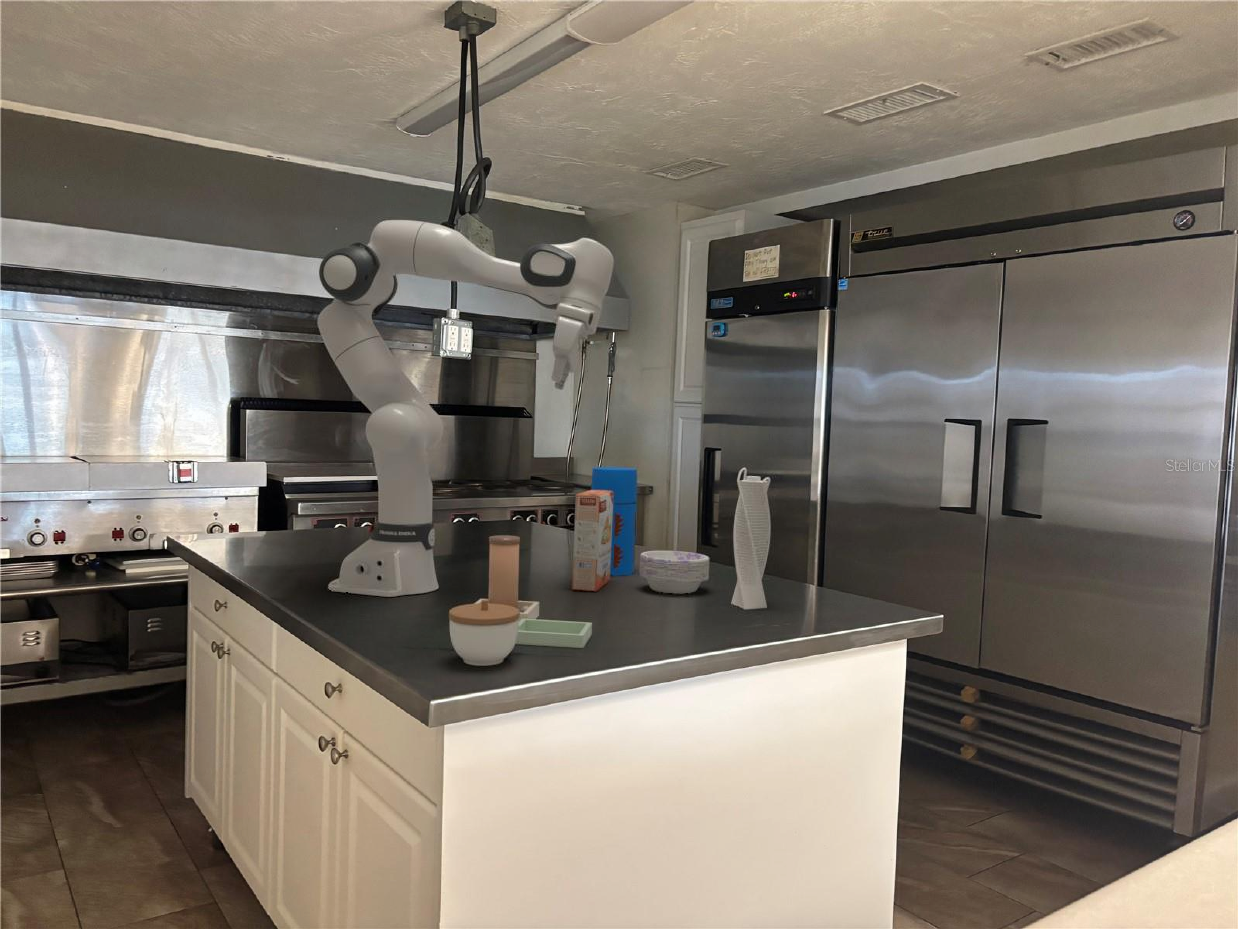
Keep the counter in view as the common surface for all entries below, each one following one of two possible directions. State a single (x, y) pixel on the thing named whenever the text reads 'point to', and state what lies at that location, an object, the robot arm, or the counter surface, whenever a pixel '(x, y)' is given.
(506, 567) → the terracotta canister
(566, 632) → the sage tray
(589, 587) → the cracker box
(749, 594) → the skyscraper
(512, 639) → the lidded jar
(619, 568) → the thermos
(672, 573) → the paper bowls
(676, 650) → the counter surface
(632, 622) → the counter surface
